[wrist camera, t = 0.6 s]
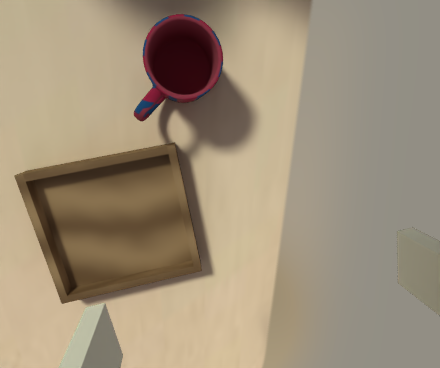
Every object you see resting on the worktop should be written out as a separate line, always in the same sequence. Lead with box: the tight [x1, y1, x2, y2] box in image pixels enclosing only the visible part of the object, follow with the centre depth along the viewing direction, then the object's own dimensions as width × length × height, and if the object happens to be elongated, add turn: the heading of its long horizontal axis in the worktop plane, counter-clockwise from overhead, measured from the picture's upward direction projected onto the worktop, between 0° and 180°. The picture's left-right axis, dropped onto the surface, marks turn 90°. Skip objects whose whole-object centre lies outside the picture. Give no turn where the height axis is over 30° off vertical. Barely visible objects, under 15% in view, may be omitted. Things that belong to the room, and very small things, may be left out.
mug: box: [134, 14, 223, 121], centre depth 28 cm, size 7×10×7 cm
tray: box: [15, 143, 202, 304], centre depth 32 cm, size 15×16×2 cm
